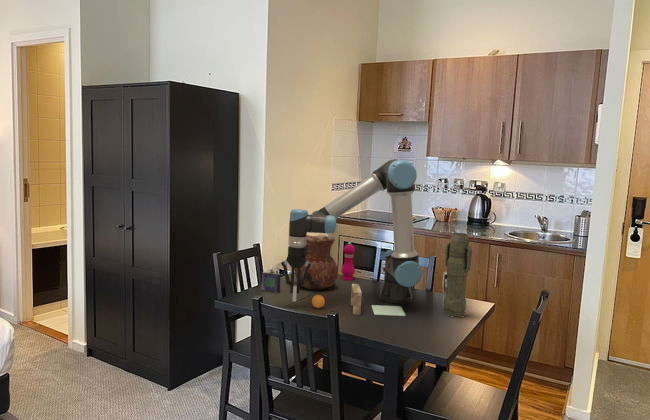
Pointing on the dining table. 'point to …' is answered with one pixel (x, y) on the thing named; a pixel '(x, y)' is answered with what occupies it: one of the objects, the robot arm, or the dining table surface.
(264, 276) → the flask
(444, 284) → the beer glass
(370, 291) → the dining table surface
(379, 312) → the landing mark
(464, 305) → the olive brown statue
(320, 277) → the jug
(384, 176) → the robot arm
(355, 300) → the bridge
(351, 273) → the pepper mill
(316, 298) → the ball
